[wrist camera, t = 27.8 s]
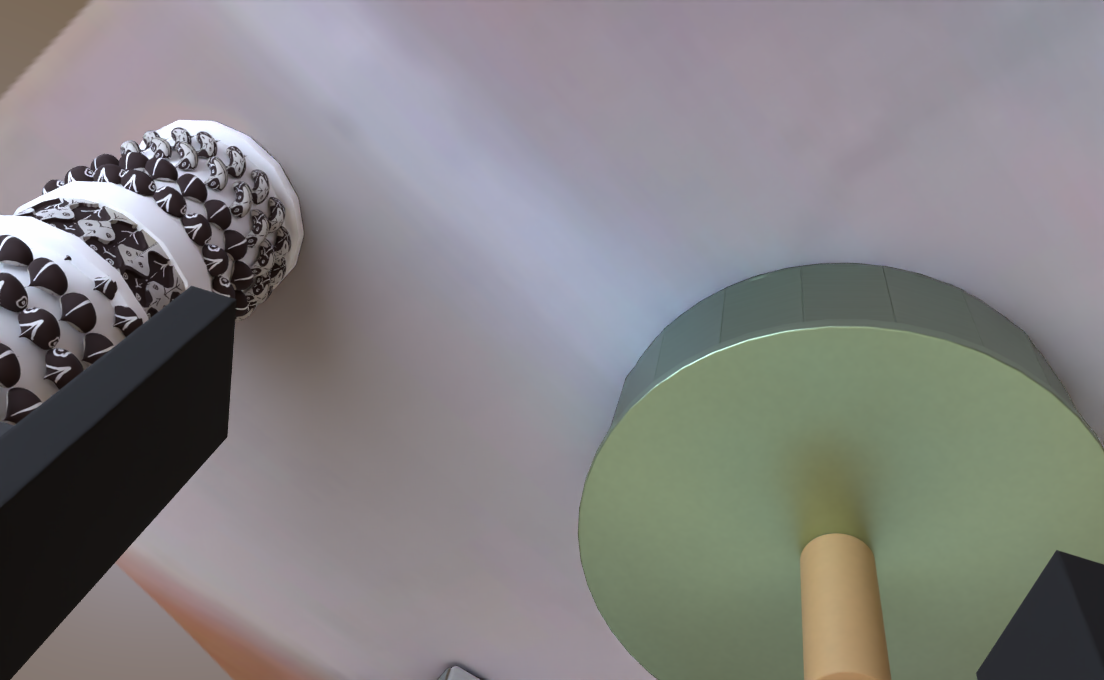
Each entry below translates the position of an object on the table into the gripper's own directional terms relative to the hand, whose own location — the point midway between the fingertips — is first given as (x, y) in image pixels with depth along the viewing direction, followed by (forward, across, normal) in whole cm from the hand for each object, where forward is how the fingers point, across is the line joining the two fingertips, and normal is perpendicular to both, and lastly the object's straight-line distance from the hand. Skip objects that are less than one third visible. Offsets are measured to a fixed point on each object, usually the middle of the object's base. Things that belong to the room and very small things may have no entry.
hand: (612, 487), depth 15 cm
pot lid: (+19, +10, -14) cm, 26 cm away
